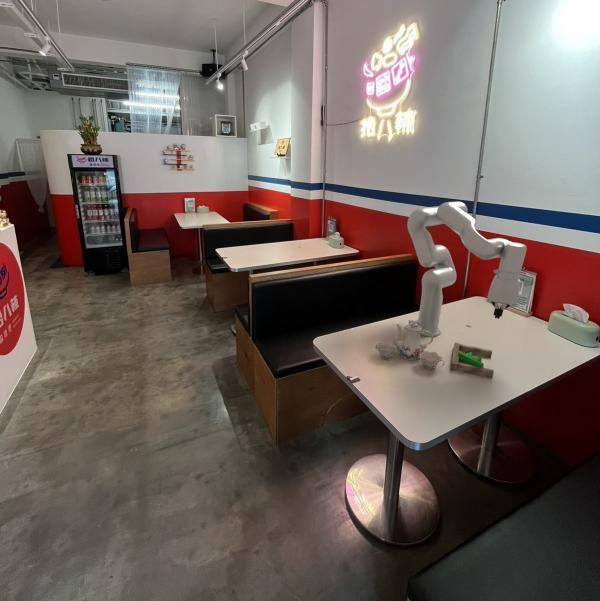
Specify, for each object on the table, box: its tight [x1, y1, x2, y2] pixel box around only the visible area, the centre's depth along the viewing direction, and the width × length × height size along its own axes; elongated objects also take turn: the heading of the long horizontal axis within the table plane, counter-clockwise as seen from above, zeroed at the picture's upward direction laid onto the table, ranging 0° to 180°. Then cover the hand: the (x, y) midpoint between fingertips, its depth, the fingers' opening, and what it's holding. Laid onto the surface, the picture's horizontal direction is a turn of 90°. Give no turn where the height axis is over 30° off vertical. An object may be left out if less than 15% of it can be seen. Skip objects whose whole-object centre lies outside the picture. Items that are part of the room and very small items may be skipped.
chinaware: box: [375, 320, 445, 370], centre depth 152 cm, size 28×17×17 cm, turn 70°
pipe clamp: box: [458, 351, 485, 368], centre depth 149 cm, size 11×4×5 cm, turn 28°
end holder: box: [450, 342, 495, 379], centre depth 152 cm, size 15×20×3 cm
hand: (497, 317), depth 150 cm, fingers closed
